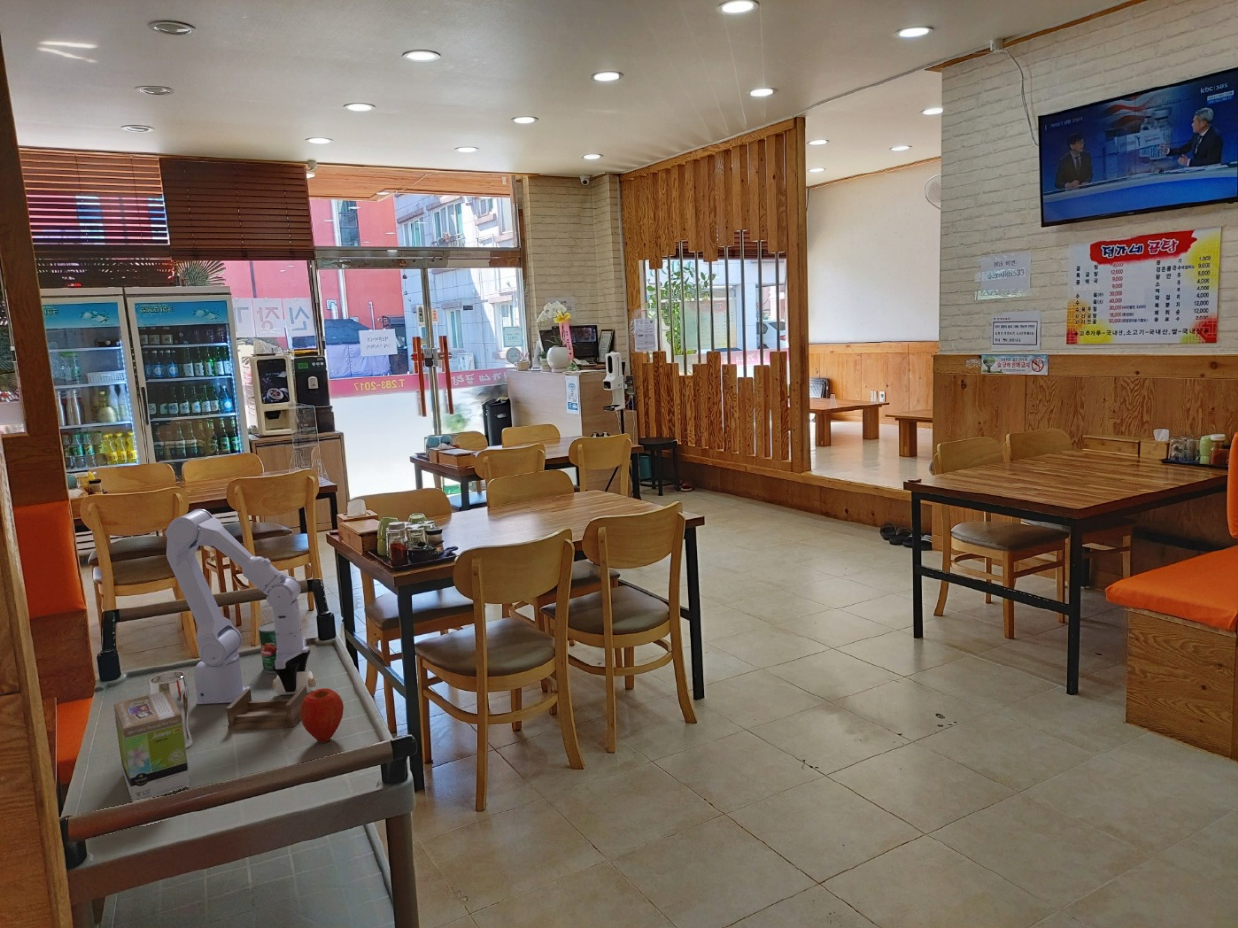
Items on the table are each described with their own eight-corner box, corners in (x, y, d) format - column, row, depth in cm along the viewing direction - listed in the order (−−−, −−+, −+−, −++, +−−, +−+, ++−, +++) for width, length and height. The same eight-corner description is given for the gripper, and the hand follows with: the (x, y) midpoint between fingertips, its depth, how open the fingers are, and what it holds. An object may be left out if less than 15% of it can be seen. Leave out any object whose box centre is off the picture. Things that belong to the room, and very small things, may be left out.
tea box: (192, 787, 164) (182, 712, 162) (132, 806, 158) (120, 729, 156) (178, 757, 176) (169, 687, 174) (122, 773, 171) (111, 702, 168)
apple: (350, 743, 178) (345, 692, 177) (307, 754, 174) (301, 703, 173) (342, 727, 186) (337, 678, 184) (300, 737, 182) (294, 688, 180)
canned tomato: (256, 672, 219) (251, 630, 217) (275, 660, 226) (270, 619, 225) (284, 673, 217) (279, 631, 215) (302, 661, 224) (298, 620, 223)
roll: (271, 698, 202) (269, 677, 202) (279, 689, 207) (277, 669, 207) (312, 696, 202) (310, 675, 202) (319, 687, 207) (317, 667, 207)
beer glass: (203, 739, 183) (193, 671, 181) (176, 755, 177) (166, 685, 174) (177, 736, 186) (167, 668, 183) (150, 751, 179) (139, 682, 177)
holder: (228, 730, 187) (225, 708, 186) (247, 709, 197) (244, 688, 196) (293, 726, 187) (291, 704, 186) (309, 706, 197) (307, 685, 196)
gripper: (294, 641, 195) (301, 698, 197) (316, 619, 210) (322, 673, 212) (262, 642, 195) (269, 700, 197) (286, 620, 210) (293, 674, 212)
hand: (295, 686), depth 205 cm, fingers closed on roll, 5 cm apart
